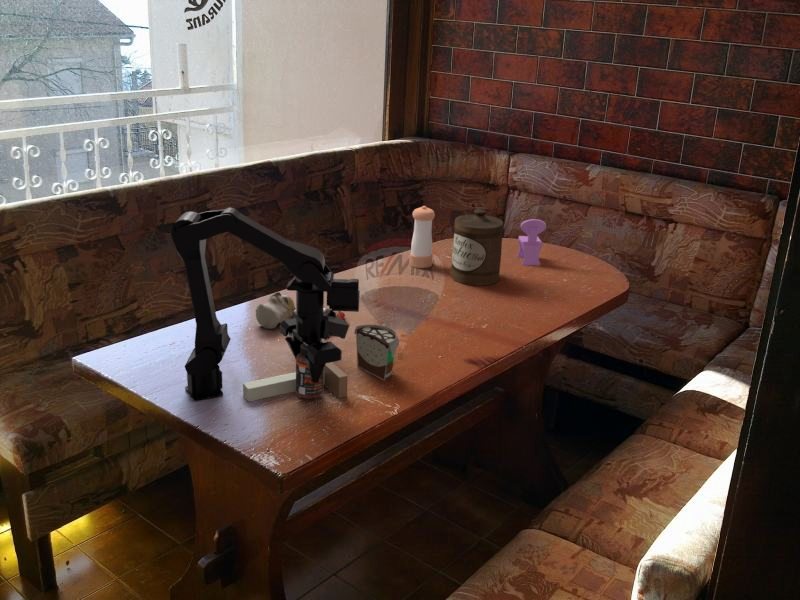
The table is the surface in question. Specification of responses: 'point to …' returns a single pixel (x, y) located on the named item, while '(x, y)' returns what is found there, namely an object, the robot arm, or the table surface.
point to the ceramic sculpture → (275, 310)
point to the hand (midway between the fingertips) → (309, 376)
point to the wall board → (287, 383)
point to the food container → (376, 349)
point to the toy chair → (531, 241)
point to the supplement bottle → (306, 377)
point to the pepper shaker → (422, 238)
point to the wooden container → (477, 249)
